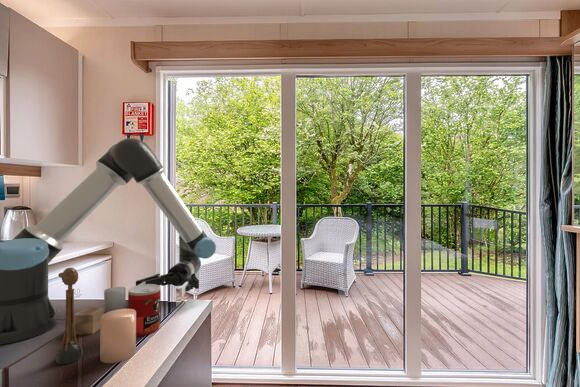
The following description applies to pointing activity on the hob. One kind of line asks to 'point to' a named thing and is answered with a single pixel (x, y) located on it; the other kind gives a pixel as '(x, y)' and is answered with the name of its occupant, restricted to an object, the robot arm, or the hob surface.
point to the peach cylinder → (117, 335)
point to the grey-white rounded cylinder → (114, 299)
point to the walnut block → (88, 320)
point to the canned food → (145, 307)
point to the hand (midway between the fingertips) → (157, 292)
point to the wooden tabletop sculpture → (69, 322)
